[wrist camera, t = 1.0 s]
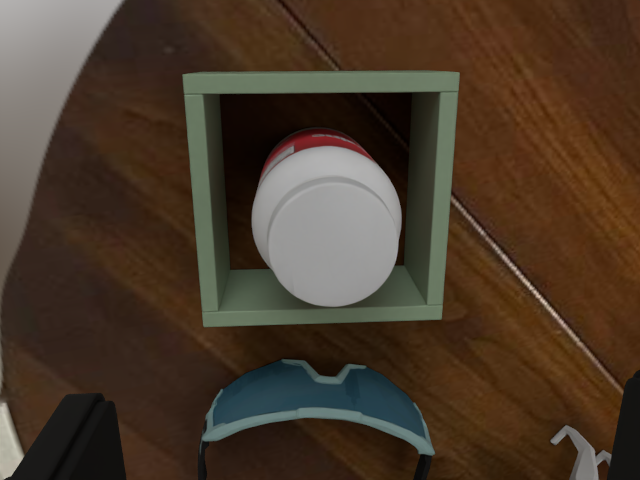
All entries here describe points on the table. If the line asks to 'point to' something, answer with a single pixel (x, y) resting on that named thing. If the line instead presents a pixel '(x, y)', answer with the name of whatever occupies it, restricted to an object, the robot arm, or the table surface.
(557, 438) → the grey dog statue
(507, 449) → the table surface
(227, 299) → the bin
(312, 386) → the sunglasses
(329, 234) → the pill bottle
